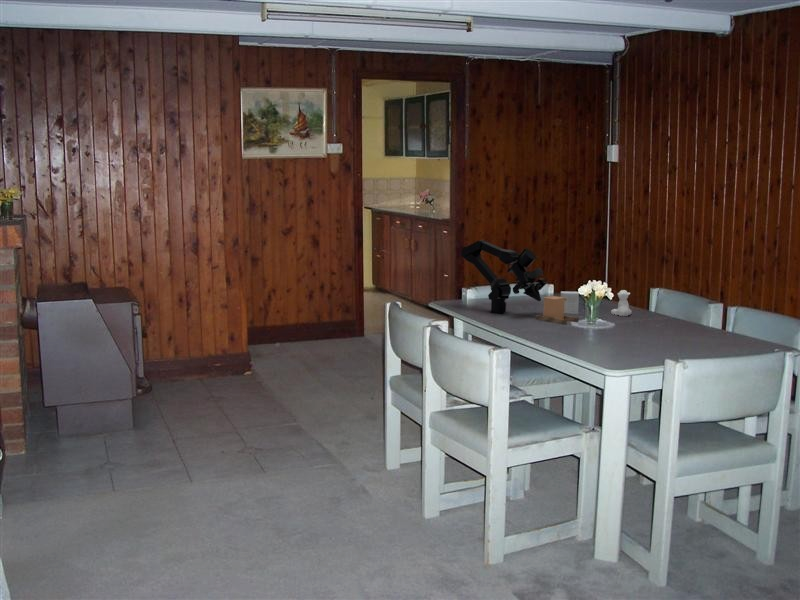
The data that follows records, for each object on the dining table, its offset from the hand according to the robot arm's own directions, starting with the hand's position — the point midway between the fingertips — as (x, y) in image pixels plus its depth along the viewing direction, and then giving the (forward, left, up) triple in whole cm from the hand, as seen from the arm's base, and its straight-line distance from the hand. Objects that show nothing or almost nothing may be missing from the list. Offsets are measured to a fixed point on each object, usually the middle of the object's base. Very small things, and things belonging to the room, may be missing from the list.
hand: (540, 300), depth 390 cm
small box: (+11, +18, -9) cm, 23 cm away
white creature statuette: (+35, +25, -9) cm, 44 cm away
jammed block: (+7, -4, -8) cm, 11 cm away
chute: (+9, -5, -9) cm, 14 cm away
